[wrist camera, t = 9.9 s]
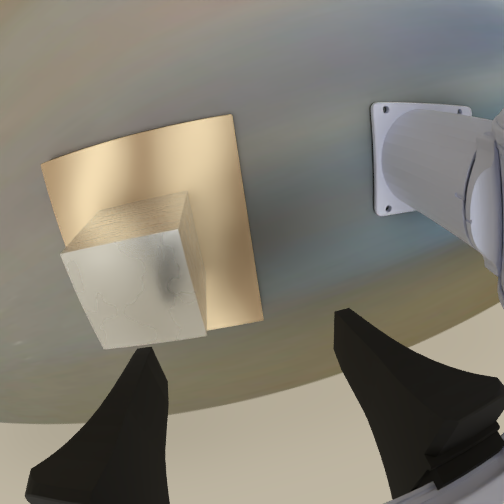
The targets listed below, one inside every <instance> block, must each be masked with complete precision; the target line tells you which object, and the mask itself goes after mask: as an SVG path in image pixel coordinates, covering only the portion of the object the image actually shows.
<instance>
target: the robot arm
mask: <svg viewBox="0 0 504 504" xmlns="http://www.w3.org/2000/svg"><path fill="white" fill-rule="evenodd" d="M384 106H385V107H386V112H385V113H384V112H383V107H384ZM458 111H459V114H458ZM371 121H372V135H373V155H374V209H375V212H376V214H378V215H379V216H386V215H392V214H398V213H404V212H411V211H419V212H420V213H422V214H423V215H425V216H426V217H428V218H430V219H431V220H433V221H434V222H436V223H437V224H439V225H440V226H442V227H444V228H445V229H447V230H448V231H450V232H451V233H452V234H454V235H455V236H457V237H458V238H460V239H461V240H463V241H464V242H466V243H467V244H468V245H470V246H471V247H473V248H474V249H476V250H477V251H479V252H480V253H481V254H482V256H483V258H484V261H485V267H486V268H487V269H489V270H490V271H491V272H493V273H494V274H495V275H496V276H498V277H499V278H498V295H499V300H500V302H501V305H502V307H503V309H504V108H503V109H502V111H501V112H500V113H499V115H497V116H496V117H495V118H494V120H488V119H483V118H478V117H473V116H472V112H471V109H470V108H469V107H467V106H458V105H445V104H430V103H406V102H375V103H373V104H372V106H371ZM388 205H389V209H388V210H386V207H387V206H388ZM334 351H335V354H336V357H337V359H338V362H339V364H340V367H341V370H342V372H343V373H344V375H345V377H346V379H347V381H348V383H349V385H350V386H351V388H352V390H353V392H354V394H355V396H356V398H357V399H358V401H359V403H360V405H361V407H362V409H363V411H364V413H365V415H366V417H367V419H368V421H369V425H370V427H371V430H372V432H373V435H374V438H375V441H376V443H377V446H378V449H379V452H380V455H381V458H382V462H383V465H384V468H385V472H386V475H387V479H388V482H389V487H390V490H391V495H392V499H393V500H391V501H389V502H386V503H384V504H503V503H504V433H503V434H502V435H501V436H500V435H499V433H498V430H499V428H500V426H499V424H498V423H497V421H496V420H497V419H498V417H499V416H500V415H501V413H502V412H503V410H504V385H503V384H502V383H501V382H500V380H499V379H498V378H496V377H490V376H484V375H479V374H474V373H470V372H466V371H462V370H459V369H456V368H452V367H449V366H447V365H444V364H441V363H439V362H436V361H434V360H431V359H429V358H427V357H425V356H423V355H421V354H419V353H416V352H414V351H413V350H411V349H409V348H407V347H405V346H404V345H402V344H400V343H399V342H397V341H395V340H394V339H392V338H390V337H389V336H387V335H386V334H384V333H383V332H381V331H380V330H379V329H377V328H376V327H374V326H373V325H372V324H370V323H369V322H367V321H366V320H365V319H363V318H362V317H361V316H359V315H358V314H357V313H355V312H354V311H352V310H351V309H350V308H347V309H343V310H339V311H335V318H334ZM168 404H169V403H168V381H167V379H166V377H165V375H164V373H163V371H162V369H161V366H160V364H159V362H158V360H157V358H156V356H155V353H154V351H153V349H152V347H146V348H139V349H137V350H136V352H135V353H134V355H133V356H132V358H131V359H130V361H129V363H128V364H127V366H126V368H125V369H124V371H123V373H122V374H121V376H120V377H119V379H118V381H117V382H116V384H115V385H114V387H113V388H112V390H111V391H110V393H109V394H108V396H107V397H106V399H105V400H104V401H103V403H102V404H101V406H100V407H99V408H98V410H97V411H96V412H95V413H94V415H93V416H92V417H91V418H90V419H89V421H88V422H87V423H86V424H85V425H84V426H83V427H82V428H81V429H80V431H78V432H77V433H76V434H75V435H74V436H73V437H72V438H71V439H70V440H69V441H68V442H67V443H66V444H65V445H63V446H62V447H61V448H60V449H59V450H57V451H56V452H55V453H54V454H52V455H51V456H50V457H49V458H47V459H45V460H44V461H43V462H41V463H40V464H38V465H37V466H35V467H33V468H32V469H31V471H30V475H29V479H28V483H27V488H26V492H25V497H26V499H27V501H28V502H30V503H31V504H170V502H169V495H168V486H167V477H166V463H165V445H166V430H167V418H168Z"/></svg>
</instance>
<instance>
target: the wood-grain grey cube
mask: <svg viewBox="0 0 504 504" xmlns="http://www.w3.org/2000/svg"><path fill="white" fill-rule="evenodd" d="M60 255H61V257H62V260H63V262H64V265H65V267H66V270H67V272H68V275H69V277H70V280H71V282H72V284H73V287H74V289H75V291H76V293H77V296H78V298H79V300H80V302H81V304H82V307H83V309H84V311H85V313H86V315H87V317H88V319H89V321H90V323H91V325H92V327H93V329H94V331H95V333H96V335H97V337H98V339H99V341H100V343H101V345H102V346H103V348H104V349H112V348H121V347H130V346H138V345H147V344H154V343H162V342H169V341H176V340H183V339H190V338H196V337H203V336H207V303H206V271H205V267H204V263H203V259H202V254H201V250H200V246H199V241H198V237H197V233H196V228H195V224H194V219H193V214H192V210H191V205H190V200H189V196H188V191H183V192H178V193H173V194H168V195H163V196H159V197H154V198H149V199H145V200H140V201H136V202H132V203H127V204H123V205H119V206H115V207H111V208H107V209H102V210H99V211H98V212H97V213H96V214H95V215H94V216H93V218H92V219H91V220H90V221H89V222H88V223H87V224H86V225H85V226H84V227H83V228H82V230H81V231H80V232H79V233H78V234H77V235H76V236H75V237H74V239H73V240H72V241H71V242H70V243H69V244H68V246H67V247H66V248H65V249H64V250H63V251H62V253H61V254H60Z"/></svg>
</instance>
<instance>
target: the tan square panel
mask: <svg viewBox="0 0 504 504" xmlns="http://www.w3.org/2000/svg"><path fill="white" fill-rule="evenodd" d="M41 168H42V172H43V176H44V179H45V183H46V187H47V190H48V194H49V197H50V200H51V204H52V207H53V210H54V213H55V216H56V220H57V223H58V226H59V228H60V231H61V234H62V237H63V240H64V243H65V245H66V247H67V246H68V244H69V243H70V242H71V241H72V240H73V239H74V237H75V236H76V235H77V234H78V233H79V232H80V231H81V230H82V228H83V227H84V226H85V225H86V224H87V223H88V222H89V221H90V220H91V219H92V218H93V216H94V215H95V214H96V213H97V212H98V211H99V210H102V209H107V208H111V207H115V206H119V205H123V204H127V203H132V202H136V201H140V200H145V199H149V198H154V197H159V196H163V195H168V194H173V193H178V192H183V191H188V196H189V200H190V205H191V210H192V214H193V219H194V224H195V228H196V233H197V237H198V241H199V246H200V250H201V254H202V259H203V263H204V267H205V271H206V303H207V330H212V329H218V328H224V327H230V326H235V325H241V324H246V323H252V322H257V321H262V320H264V319H263V313H262V306H261V300H260V293H259V287H258V280H257V274H256V267H255V261H254V254H253V248H252V241H251V235H250V228H249V221H248V215H247V208H246V202H245V195H244V189H243V182H242V176H241V169H240V163H239V156H238V150H237V144H236V137H235V131H234V124H233V118H232V114H228V115H222V116H216V117H210V118H205V119H199V120H194V121H189V122H184V123H179V124H174V125H170V126H165V127H161V128H157V129H152V130H148V131H144V132H140V133H136V134H132V135H129V136H125V137H121V138H118V139H114V140H111V141H107V142H104V143H100V144H97V145H94V146H91V147H87V148H84V149H81V150H78V151H75V152H72V153H69V154H66V155H63V156H60V157H58V158H55V159H52V160H49V161H47V162H45V163H43V164H41Z"/></svg>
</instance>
